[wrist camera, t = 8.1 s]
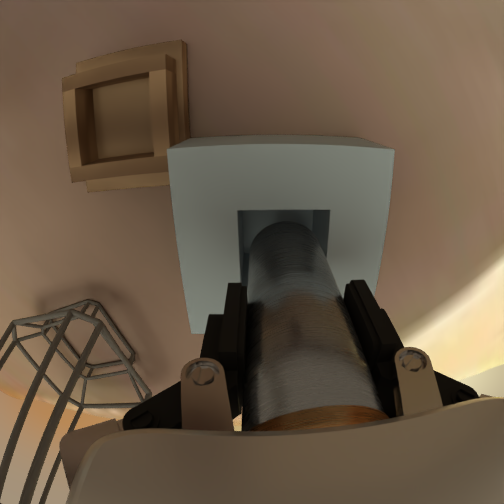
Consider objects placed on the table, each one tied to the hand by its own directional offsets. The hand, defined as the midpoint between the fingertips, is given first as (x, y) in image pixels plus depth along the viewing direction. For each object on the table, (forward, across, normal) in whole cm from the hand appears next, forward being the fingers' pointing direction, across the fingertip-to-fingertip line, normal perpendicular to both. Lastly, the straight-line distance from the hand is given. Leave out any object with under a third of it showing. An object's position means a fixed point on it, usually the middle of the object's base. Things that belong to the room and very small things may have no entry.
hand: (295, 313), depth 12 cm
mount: (+11, +10, -8) cm, 17 cm away
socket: (+12, 0, 0) cm, 12 cm away
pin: (+5, 0, 0) cm, 5 cm away
